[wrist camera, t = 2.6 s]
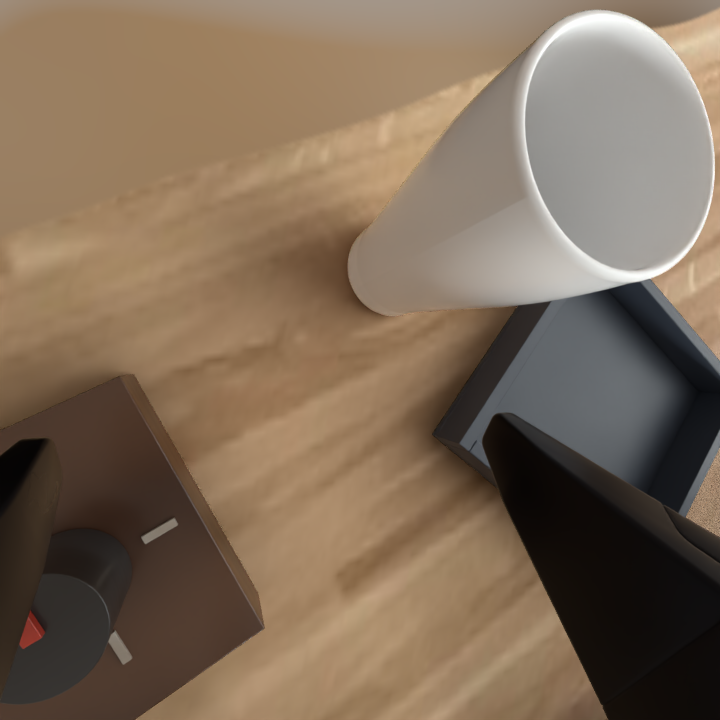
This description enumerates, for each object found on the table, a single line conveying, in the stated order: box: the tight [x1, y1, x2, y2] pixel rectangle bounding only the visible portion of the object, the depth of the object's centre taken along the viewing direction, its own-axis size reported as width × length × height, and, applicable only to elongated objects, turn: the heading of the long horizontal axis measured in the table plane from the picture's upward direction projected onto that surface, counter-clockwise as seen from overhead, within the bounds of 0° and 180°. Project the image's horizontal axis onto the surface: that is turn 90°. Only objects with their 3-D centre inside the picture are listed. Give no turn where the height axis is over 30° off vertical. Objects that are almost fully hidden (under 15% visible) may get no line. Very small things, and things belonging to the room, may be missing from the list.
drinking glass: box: [347, 10, 715, 316], centre depth 17 cm, size 7×7×15 cm
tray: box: [432, 279, 720, 517], centre depth 28 cm, size 18×17×3 cm
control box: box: [0, 374, 264, 720], centre depth 18 cm, size 13×10×3 cm
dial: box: [0, 529, 132, 705], centre depth 15 cm, size 4×4×4 cm
